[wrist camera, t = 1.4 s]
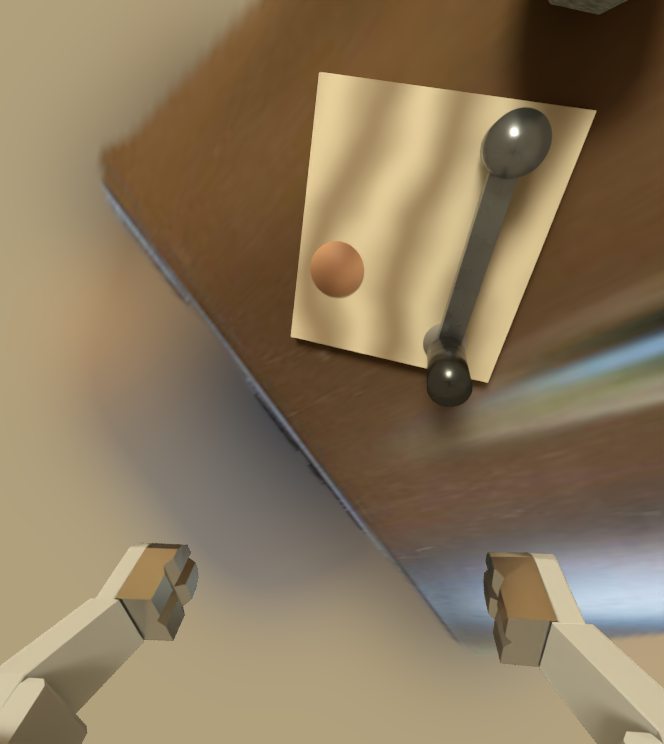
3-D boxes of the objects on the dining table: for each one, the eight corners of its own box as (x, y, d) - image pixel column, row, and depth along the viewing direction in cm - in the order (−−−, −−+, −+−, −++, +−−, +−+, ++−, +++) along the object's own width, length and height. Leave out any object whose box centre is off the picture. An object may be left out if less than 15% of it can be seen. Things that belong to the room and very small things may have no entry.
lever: (549, 119, 26) (593, 96, 19) (461, 367, 36) (469, 412, 29) (490, 110, 27) (512, 85, 20) (419, 357, 36) (416, 399, 29)
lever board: (588, 114, 28) (597, 110, 26) (485, 375, 38) (488, 383, 36) (323, 76, 30) (318, 71, 29) (295, 331, 41) (290, 337, 39)
